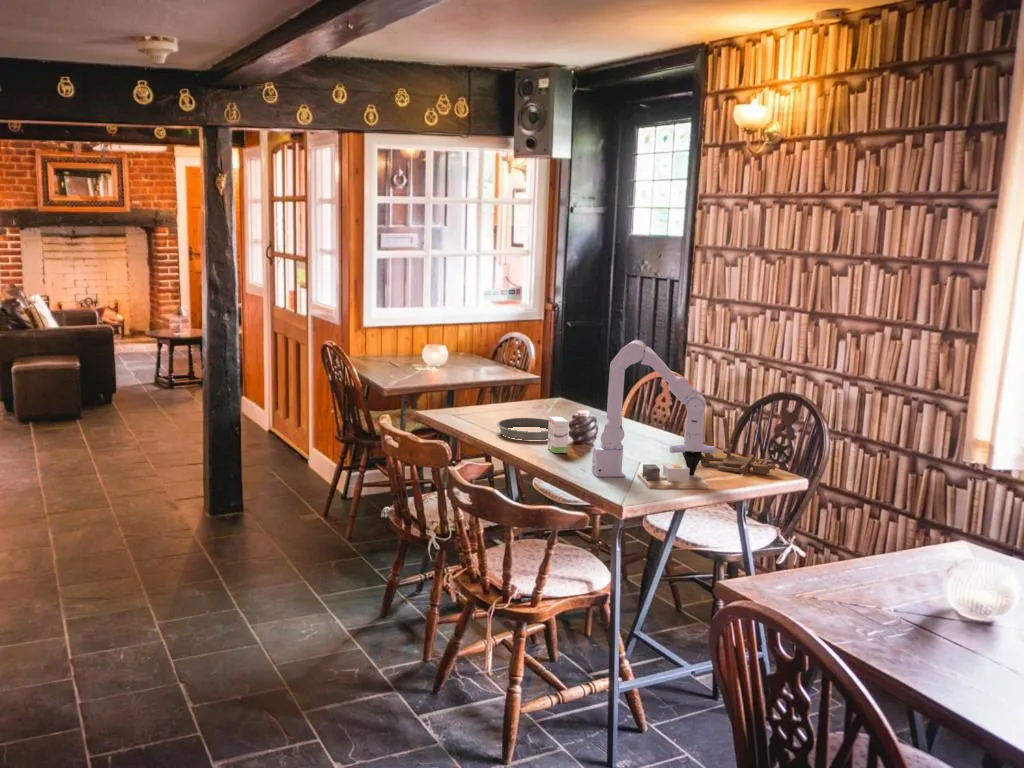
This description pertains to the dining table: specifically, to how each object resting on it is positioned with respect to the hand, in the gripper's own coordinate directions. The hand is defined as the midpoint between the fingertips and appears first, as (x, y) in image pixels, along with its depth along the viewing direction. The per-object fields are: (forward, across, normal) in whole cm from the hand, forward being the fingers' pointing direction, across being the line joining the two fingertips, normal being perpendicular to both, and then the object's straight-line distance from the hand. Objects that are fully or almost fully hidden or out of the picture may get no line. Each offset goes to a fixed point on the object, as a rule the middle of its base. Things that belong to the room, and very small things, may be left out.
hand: (690, 474), depth 300 cm
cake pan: (+3, -41, +65) cm, 77 cm away
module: (+1, -5, 0) cm, 5 cm away
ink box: (+3, -36, +40) cm, 54 cm away
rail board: (+2, -6, 0) cm, 6 cm away
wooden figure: (+3, +21, +14) cm, 25 cm away
